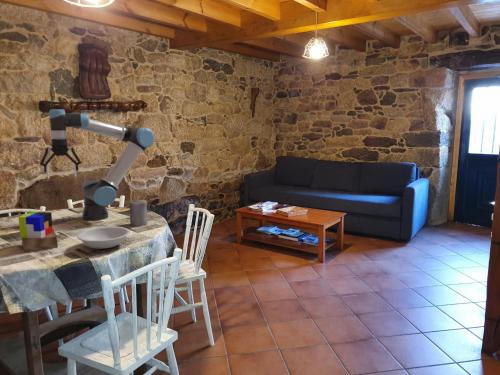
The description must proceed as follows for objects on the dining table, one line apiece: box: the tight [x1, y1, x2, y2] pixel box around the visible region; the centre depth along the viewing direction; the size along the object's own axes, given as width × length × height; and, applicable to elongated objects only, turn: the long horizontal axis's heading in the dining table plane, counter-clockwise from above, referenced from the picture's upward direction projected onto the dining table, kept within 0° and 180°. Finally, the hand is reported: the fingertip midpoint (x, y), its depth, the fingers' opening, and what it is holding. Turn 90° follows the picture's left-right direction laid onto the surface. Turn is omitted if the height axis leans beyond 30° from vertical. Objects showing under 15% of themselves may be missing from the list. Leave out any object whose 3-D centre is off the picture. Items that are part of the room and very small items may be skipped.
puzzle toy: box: [17, 211, 54, 239], centre depth 183 cm, size 10×10×10 cm
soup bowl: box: [76, 226, 131, 250], centre depth 185 cm, size 24×24×7 cm
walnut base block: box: [21, 229, 59, 253], centre depth 185 cm, size 14×14×6 cm
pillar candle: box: [128, 199, 148, 227], centre depth 223 cm, size 10×10×15 cm
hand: (62, 177), depth 210 cm, fingers open, 13 cm apart
